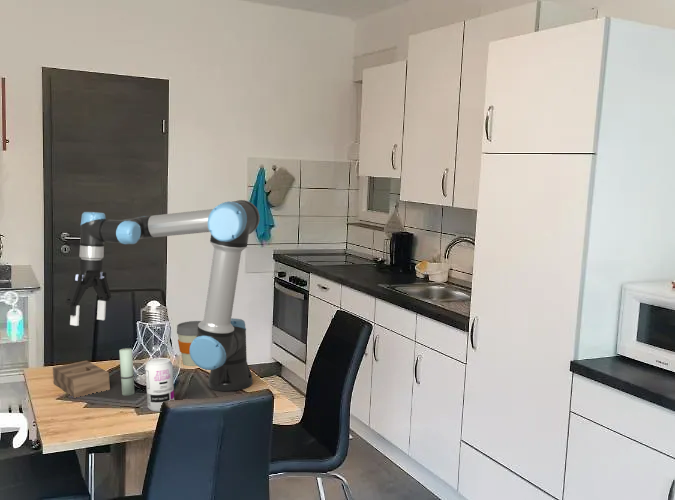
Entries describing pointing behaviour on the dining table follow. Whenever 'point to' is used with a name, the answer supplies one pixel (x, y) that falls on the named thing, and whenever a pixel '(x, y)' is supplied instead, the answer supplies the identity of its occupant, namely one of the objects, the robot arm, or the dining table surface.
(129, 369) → the peg
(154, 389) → the supplement can
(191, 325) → the reusable coffee cup
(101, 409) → the dining table surface
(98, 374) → the socket block
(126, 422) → the dining table surface
